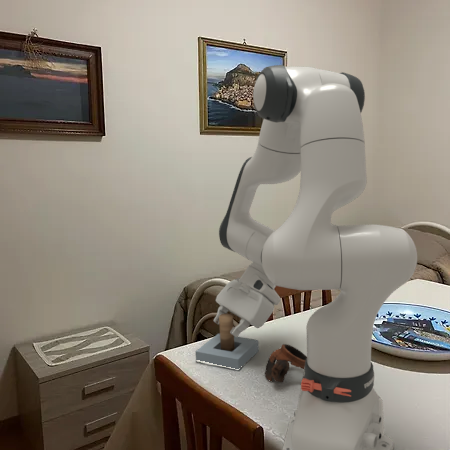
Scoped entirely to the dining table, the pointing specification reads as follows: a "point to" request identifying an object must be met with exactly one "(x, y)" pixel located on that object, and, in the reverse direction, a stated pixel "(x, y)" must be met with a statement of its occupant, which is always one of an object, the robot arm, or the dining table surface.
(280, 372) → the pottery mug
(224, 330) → the peg
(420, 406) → the dining table surface
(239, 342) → the socket block
